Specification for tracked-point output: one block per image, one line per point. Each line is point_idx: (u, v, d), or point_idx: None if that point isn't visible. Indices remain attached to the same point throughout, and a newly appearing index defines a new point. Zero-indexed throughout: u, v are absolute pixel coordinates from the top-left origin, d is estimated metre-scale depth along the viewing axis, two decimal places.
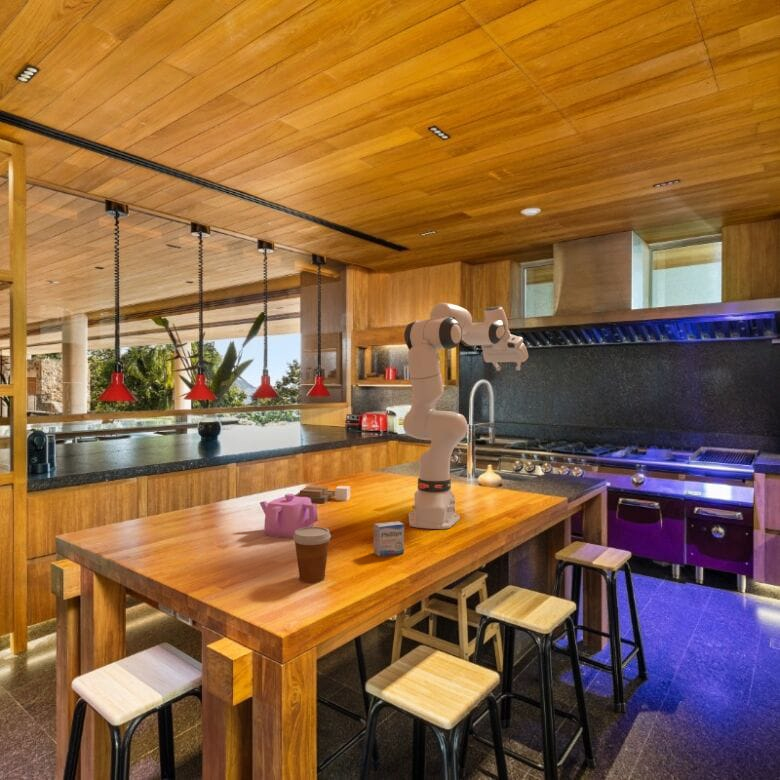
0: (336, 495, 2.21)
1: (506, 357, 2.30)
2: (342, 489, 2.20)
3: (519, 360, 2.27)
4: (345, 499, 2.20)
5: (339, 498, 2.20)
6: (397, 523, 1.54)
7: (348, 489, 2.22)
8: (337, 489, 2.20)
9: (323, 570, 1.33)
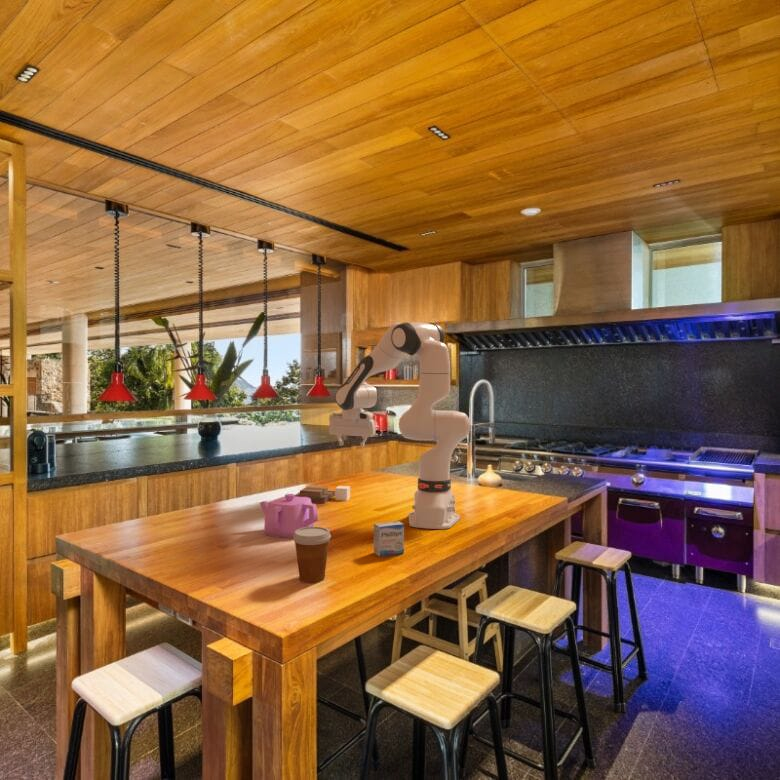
0: (336, 495, 2.21)
1: (353, 430, 2.26)
2: (342, 489, 2.20)
3: (366, 434, 2.24)
4: (345, 499, 2.20)
5: (339, 498, 2.20)
6: (397, 523, 1.54)
7: (348, 489, 2.22)
8: (337, 489, 2.20)
9: (323, 570, 1.33)
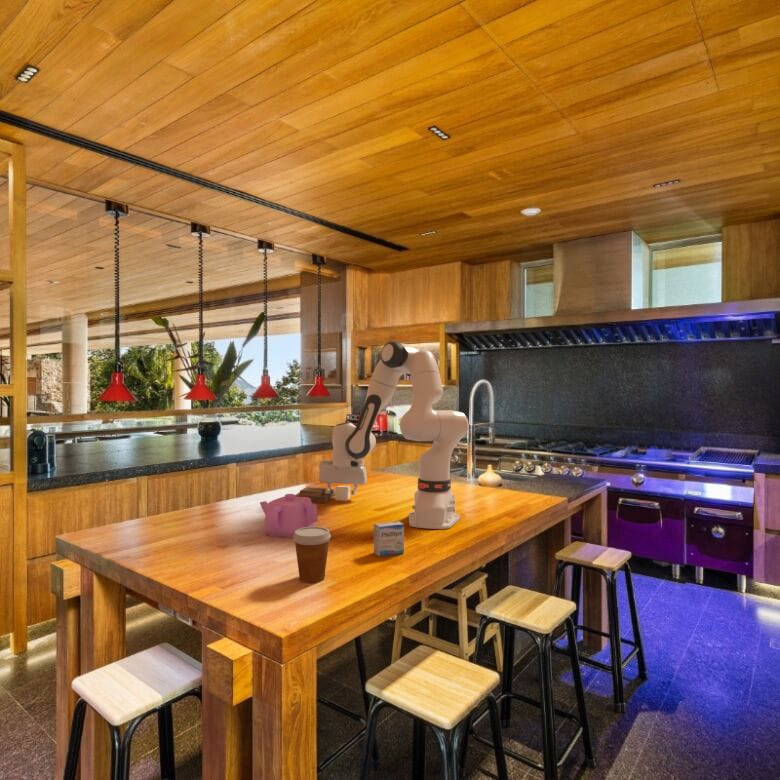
0: (336, 495, 2.21)
1: (344, 478, 2.21)
2: (342, 489, 2.20)
3: (358, 482, 2.19)
4: (345, 499, 2.20)
5: (339, 498, 2.20)
6: (397, 523, 1.54)
7: (348, 489, 2.22)
8: (337, 489, 2.20)
9: (323, 570, 1.33)
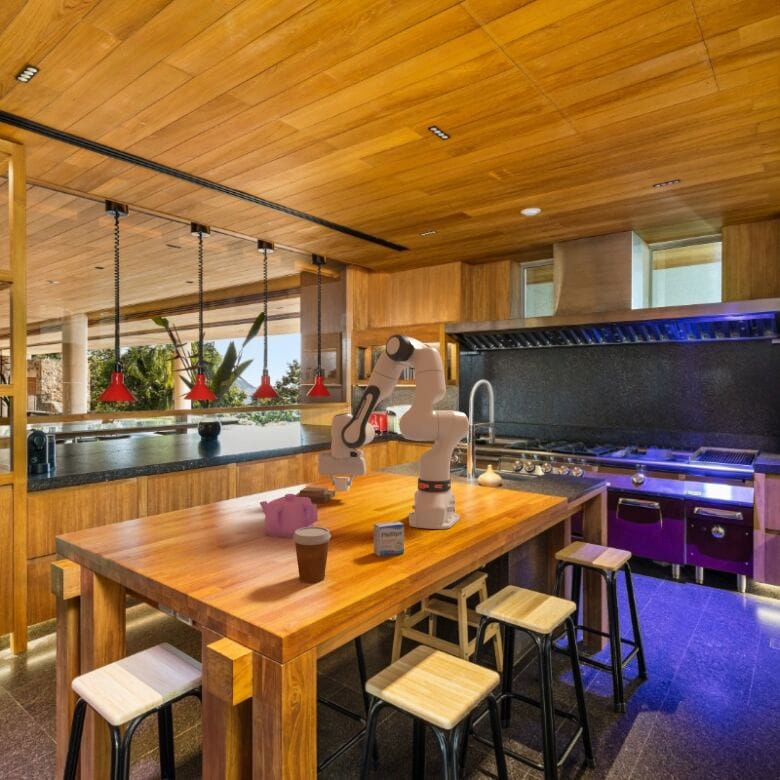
0: (335, 486, 2.19)
1: (343, 469, 2.19)
2: (341, 480, 2.19)
3: (357, 473, 2.18)
4: (344, 490, 2.19)
5: (338, 489, 2.19)
6: (397, 523, 1.54)
7: (347, 480, 2.21)
8: (336, 480, 2.19)
9: (323, 570, 1.33)
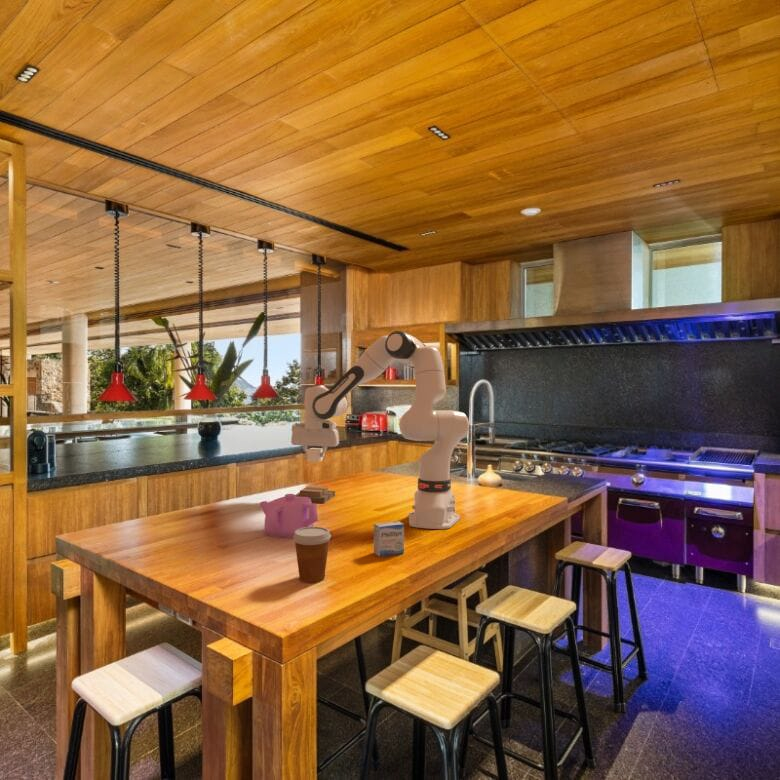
0: (307, 456, 2.21)
1: (316, 440, 2.21)
2: (314, 450, 2.21)
3: (330, 444, 2.20)
4: (317, 460, 2.20)
5: (311, 459, 2.21)
6: (397, 523, 1.54)
7: (320, 451, 2.23)
8: (309, 450, 2.21)
9: (323, 570, 1.33)
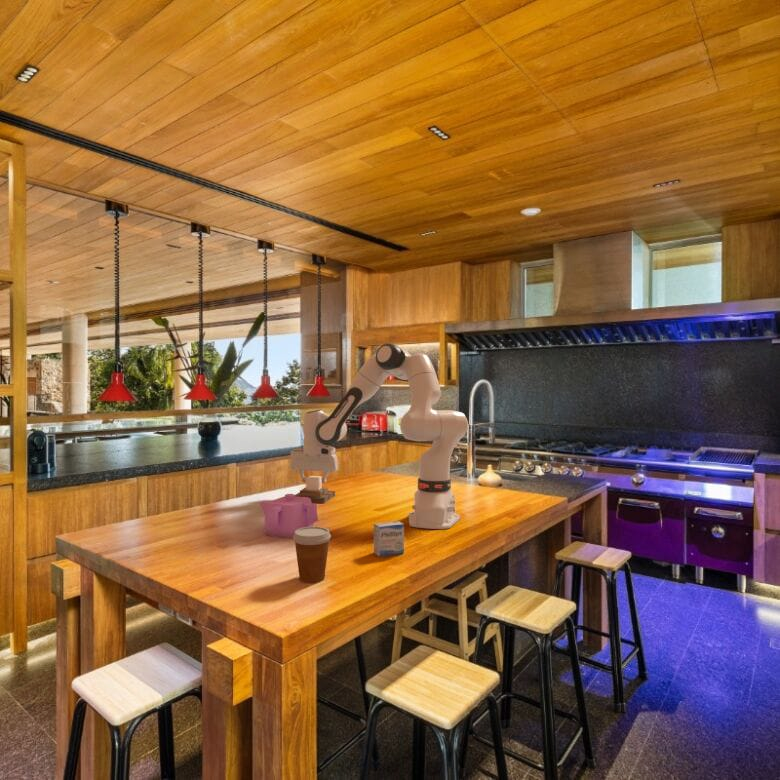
0: (307, 485, 2.21)
1: (315, 466, 2.21)
2: (313, 479, 2.20)
3: (329, 470, 2.19)
4: (316, 489, 2.20)
5: (310, 488, 2.21)
6: (397, 523, 1.54)
7: (319, 479, 2.22)
8: (308, 479, 2.21)
9: (323, 570, 1.33)
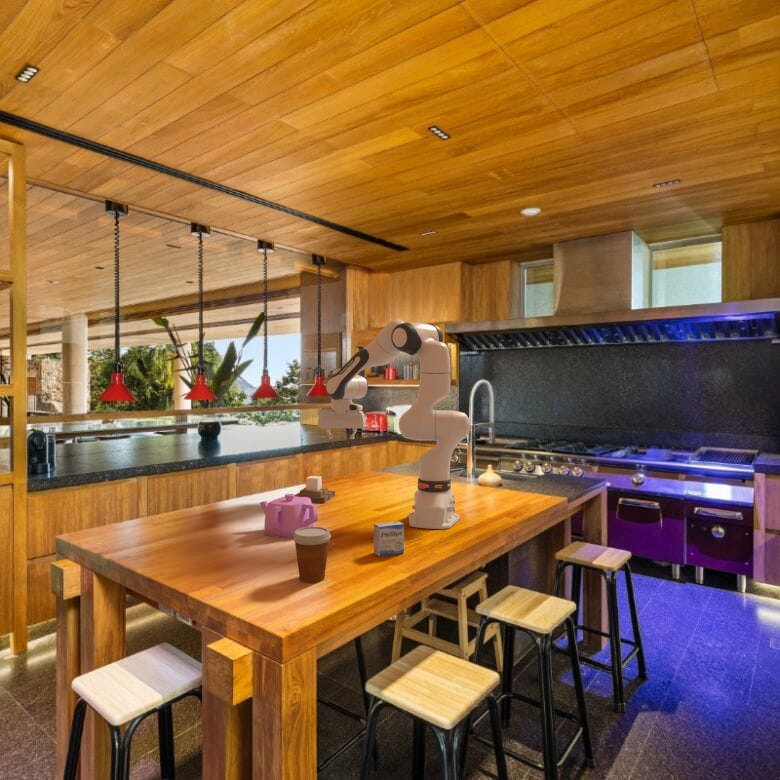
0: (307, 485, 2.21)
1: (343, 422, 2.24)
2: (313, 479, 2.20)
3: (357, 426, 2.23)
4: (316, 489, 2.20)
5: (310, 488, 2.21)
6: (397, 523, 1.54)
7: (319, 479, 2.22)
8: (308, 479, 2.21)
9: (323, 570, 1.33)
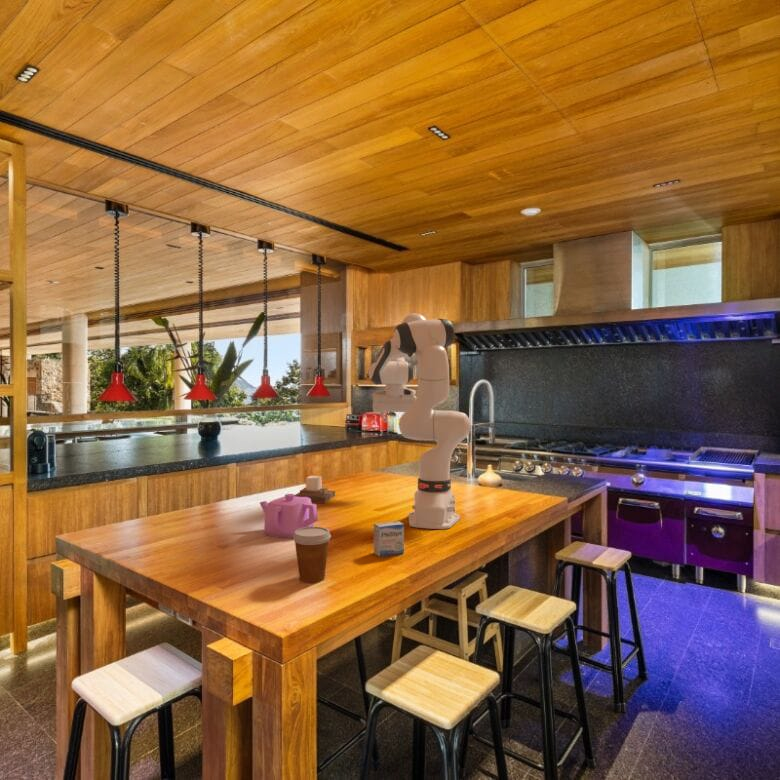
0: (307, 485, 2.21)
1: (397, 406, 2.32)
2: (313, 479, 2.20)
3: None
4: (316, 489, 2.20)
5: (310, 488, 2.21)
6: (397, 523, 1.54)
7: (319, 479, 2.22)
8: (308, 479, 2.21)
9: (323, 570, 1.33)
